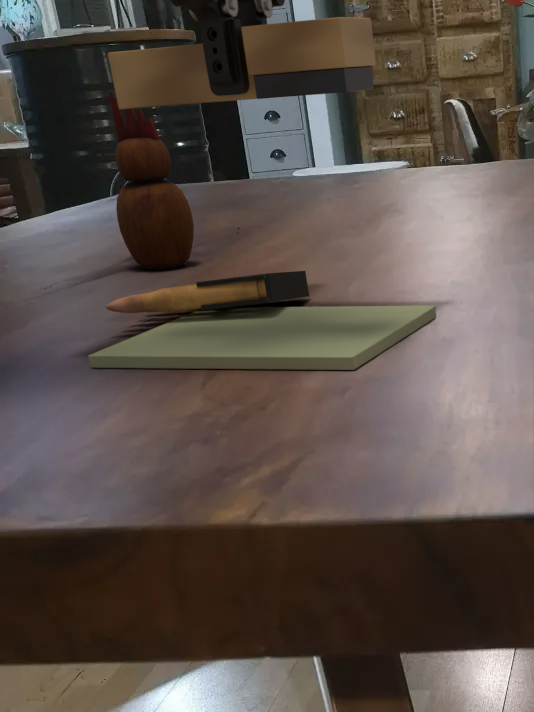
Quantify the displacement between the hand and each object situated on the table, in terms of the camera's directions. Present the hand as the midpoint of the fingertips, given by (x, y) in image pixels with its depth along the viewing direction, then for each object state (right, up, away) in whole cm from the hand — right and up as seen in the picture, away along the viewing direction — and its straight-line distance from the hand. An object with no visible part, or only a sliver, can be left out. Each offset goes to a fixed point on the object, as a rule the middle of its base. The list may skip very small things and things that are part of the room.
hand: (244, 91), depth 64 cm
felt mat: (0, -13, +7) cm, 15 cm away
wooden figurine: (-16, +3, +40) cm, 44 cm away
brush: (0, 0, 0) cm, 0 cm away
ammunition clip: (0, -7, +14) cm, 16 cm away
